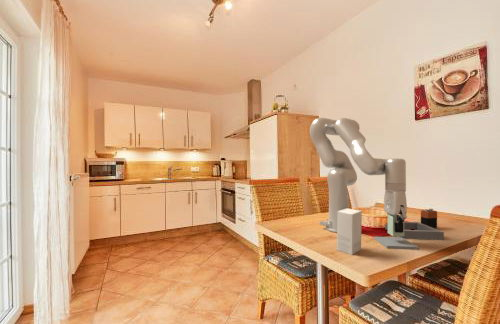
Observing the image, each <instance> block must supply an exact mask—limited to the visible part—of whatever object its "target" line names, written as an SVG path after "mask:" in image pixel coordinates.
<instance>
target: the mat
mask: <svg viewBox="0 0 500 324" xmlns="http://www.w3.org/2000/svg"><path fill="white" fill-rule="evenodd" d="M373 239H374V240H375V241H376V242H378V243H379V244H381V245H382V246H383V247H385V248H386V249H398V250H399V249H400V250H420V249H419V248H420V247H419V246H418V245H416V244H414V243H412V242H411V241H409V240H408V239H405V238H402V237H398V236H373Z"/></svg>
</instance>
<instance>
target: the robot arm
mask: <svg viewBox="0 0 500 324" xmlns="http://www.w3.org/2000/svg"><path fill="white" fill-rule="evenodd" d="M328 135H331V136H339V137H340V139H341V140H342V141H343V142H344V143H345V145H346V146H347V148H348V149H349V153H350V155H351V158H352V160H353V162H354V163H355V165H356V166H357V167H358V169H360V171H361V172H363V173H364V174H365V175H368V176H383V175H384V182H385V183H384V189H385V191H384V198H383V211H384V212H385V213H386V214H387V216H388V215H394V216H395V221H396V222H395V232H398V233H403V223H404V222H405V220H406V219H407V217H408V216H407V213H408V212H407V209H408V208H407V205H408V204H407V194H406V192H407V173H406V172H407V169H406V168H407V166H406V165H407V162H406V160H405V159H403V158H387V159H385V158H378V157H377V158H375V157H373V156H372V154H370V152H369V151H368V149H367V148H366V146H365V144H366V141H367V140H366V137H365V136H364V134H362V133H361V131H360V123H359V122H357V121H356V120H355V119H351V118H346V117H342V118H339V119H331V118H325V117H317V118H315V119H314V120H313V121H312V123H311V124H310V126H309V136H310V139H311V141H312V143H313V145H314V147H315V150H316V152H317V154H318V156H319V158H320V160H321V162H322V164H323V166H324V167H326V168H328V169H329V168H330V169H331V168H332V169H331V170H330V171H329V172H328V174H327V175H326V177H327V187H328V219H327V218H326V219H327V220H319V221H318V223H319V225H320V226H324V227H325V230H327V231H329V232H333V233H337V214H338V212H337V211H340V210H344V209H347V208H348V209H350V208H349V207H350V206H349V204H350V202H349V200H350V198H349V197H350V195H349V189H348V187H349V186H352V185H354V184H355V183H357V180H358V175H357V171H356V169H355V167H354V166H353V164H352V162H351V160H350V158H349V156H348V155H347V154H346V153H345V152H344V151H342V150H338V149H335V147H334V145H333V143H332V141H331V140H330V139H329V137H328ZM398 217H399V218H398Z"/></svg>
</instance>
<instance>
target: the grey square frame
mask: <svg viewBox="0 0 500 324" xmlns="http://www.w3.org/2000/svg"><path fill="white" fill-rule="evenodd" d="M411 229H415V230H411ZM384 230H386V231H388V223H386V225H385V229H384ZM444 236H445V234H444V231H442V230H440V229H437V228H432V227H430V226H427V225H425V224H422V223H421V221H420V222H419V221H404V236H397V237H402V238H404V239H405V240H408V239H409V240H411V239H413V240H433V241H434V240H436V241H437V240H438V241H440V240H441V241H444V240H445V237H444Z"/></svg>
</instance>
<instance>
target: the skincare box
mask: <svg viewBox="0 0 500 324" xmlns="http://www.w3.org/2000/svg"><path fill="white" fill-rule="evenodd" d="M337 212H338V214H337V232H336V233H337V234H336V251H338V252H342V253H345V254H348V255H351V256H353V255H354V254H356V253H358V252H359V251H361V250H362V215H363V213H362V212H363V211H362V210H359V209H355V208H354V209H353V208H349V209H348V208H347V209H344V210H340V211H337Z"/></svg>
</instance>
